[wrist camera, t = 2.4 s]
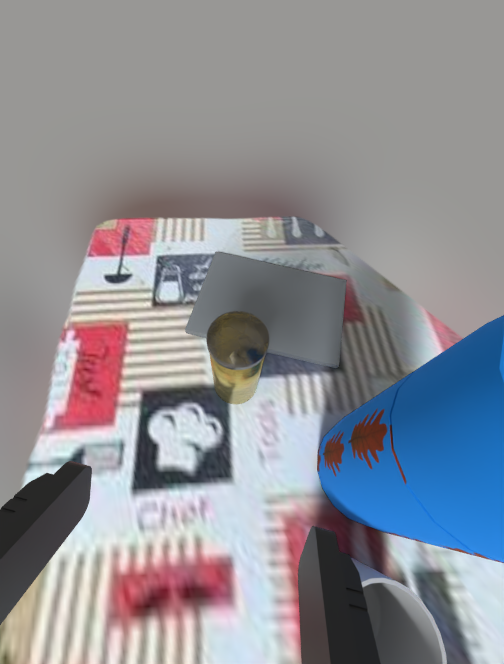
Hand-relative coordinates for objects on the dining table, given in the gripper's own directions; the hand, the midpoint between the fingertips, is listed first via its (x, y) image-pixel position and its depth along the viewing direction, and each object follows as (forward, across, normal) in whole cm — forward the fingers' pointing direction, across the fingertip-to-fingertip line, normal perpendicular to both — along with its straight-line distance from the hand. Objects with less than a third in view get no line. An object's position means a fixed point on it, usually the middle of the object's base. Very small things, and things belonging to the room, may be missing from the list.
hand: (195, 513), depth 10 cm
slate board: (+33, -1, -2) cm, 33 cm away
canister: (+24, +1, +7) cm, 25 cm away
